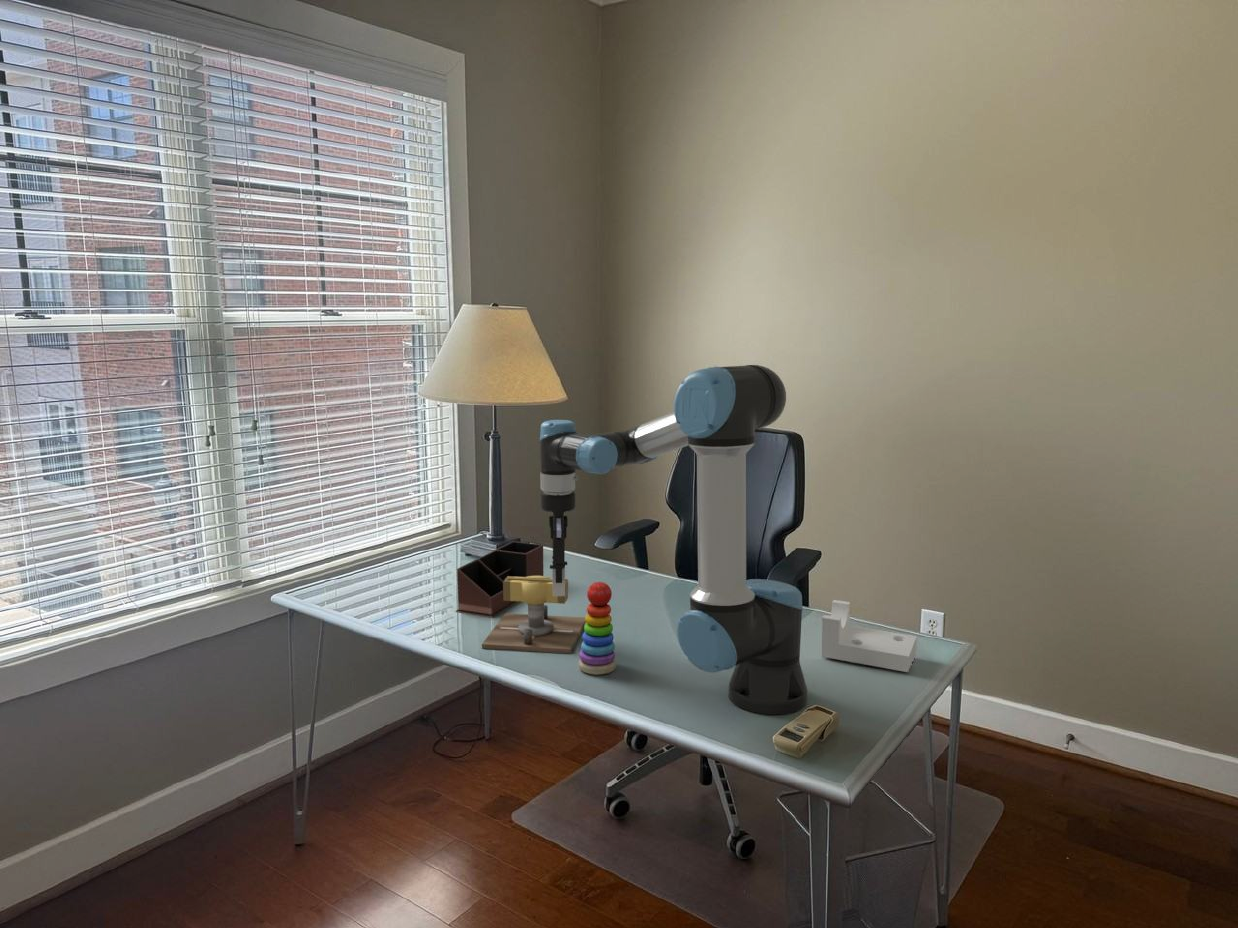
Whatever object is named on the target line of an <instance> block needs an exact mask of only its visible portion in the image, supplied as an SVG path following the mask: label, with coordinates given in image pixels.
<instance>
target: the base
mask: <svg viewBox="0 0 1238 928" xmlns="http://www.w3.org/2000/svg"><path fill="white" fill-rule="evenodd" d="M527 612H528V614H525V613H524V614H523V613H510V612H509V613H506V612H505V613H504V615H502V617H501V618H500V620H499V621H498V622H497V624H496V625H495V626H494V628H492V629H491V632H490V633H489V634H488V636H486V638H485V639H484V641H483V642H482V643H481V649H486V650H501V651H502V650H503V651H504V650H505V651H522V652H536V653H538V652H540V653H554V654H555V653H557V654H572V652H573V650H574V648H575V646H576V644H577V642H578V640H579V637H580V636H581V634H582V631H584V630H583V629H584V626H585V624H586V621H585V617H586V616H585V617H582V616H564V615H562V616H561V615H548V614H549V613H548V605H547V604H545V603H543V604H527Z"/></svg>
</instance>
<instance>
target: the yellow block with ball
mask: <svg viewBox="0 0 1238 928" xmlns="http://www.w3.org/2000/svg"><path fill="white" fill-rule="evenodd" d="M568 599H569V579H568V578H565V596H553V577H551V578H550V577H548V576H528V577H514V576H507V578H506V579H505V580H504V581H503V601H517V602H521V603H524V604H527V605H528V604H543V603H544V604H547V603H548V604H561V605H562V604H566V602H567V601H568Z"/></svg>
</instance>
